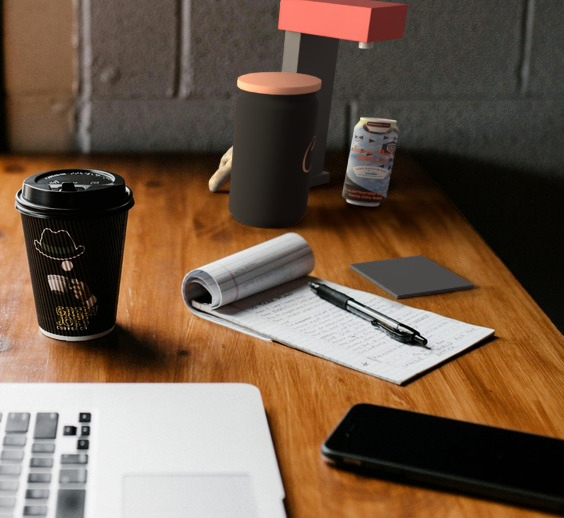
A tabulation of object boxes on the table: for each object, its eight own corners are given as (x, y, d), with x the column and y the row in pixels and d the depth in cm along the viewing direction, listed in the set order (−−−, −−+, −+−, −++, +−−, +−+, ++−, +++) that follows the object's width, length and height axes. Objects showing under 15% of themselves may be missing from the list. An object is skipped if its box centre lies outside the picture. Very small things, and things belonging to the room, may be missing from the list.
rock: (224, 159, 145) (227, 115, 141) (255, 161, 144) (259, 117, 140) (206, 194, 128) (210, 145, 124) (241, 197, 127) (246, 148, 123)
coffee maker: (301, 173, 137) (321, -8, 124) (388, 201, 125) (421, 3, 111) (257, 183, 133) (273, -4, 119) (342, 212, 120) (371, 8, 107)
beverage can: (338, 209, 122) (350, 121, 116) (345, 194, 128) (356, 110, 121) (384, 214, 120) (398, 125, 114) (388, 199, 126) (403, 113, 120)
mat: (420, 257, 105) (421, 254, 105) (473, 288, 97) (474, 284, 97) (349, 267, 103) (349, 264, 103) (397, 298, 95) (397, 295, 95)
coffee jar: (312, 230, 114) (329, 87, 105) (231, 229, 114) (242, 87, 105) (298, 205, 123) (313, 71, 114) (224, 205, 123) (233, 71, 114)
